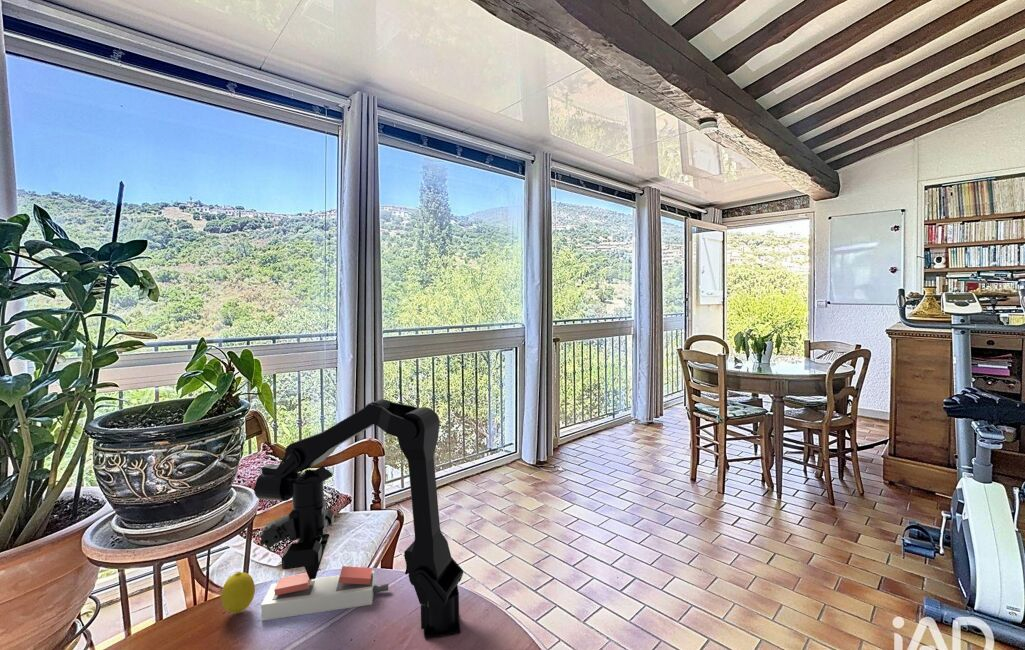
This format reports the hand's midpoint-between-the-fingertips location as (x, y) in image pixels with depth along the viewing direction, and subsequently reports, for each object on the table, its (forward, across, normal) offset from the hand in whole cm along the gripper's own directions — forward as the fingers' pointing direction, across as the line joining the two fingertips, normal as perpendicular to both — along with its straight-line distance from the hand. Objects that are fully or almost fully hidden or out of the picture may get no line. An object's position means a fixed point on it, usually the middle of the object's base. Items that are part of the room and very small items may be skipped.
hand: (312, 578), depth 91 cm
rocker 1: (+1, 0, -4) cm, 4 cm away
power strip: (+5, 0, +3) cm, 6 cm away
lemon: (+5, 0, -14) cm, 14 cm away
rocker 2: (+1, 0, +8) cm, 8 cm away
